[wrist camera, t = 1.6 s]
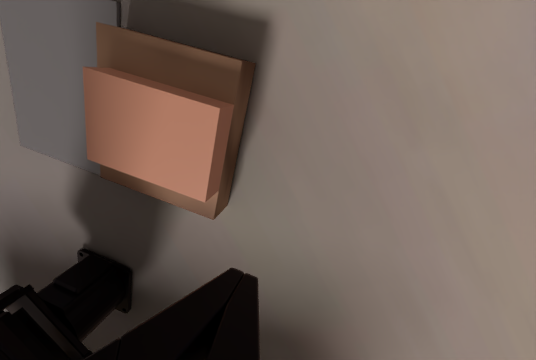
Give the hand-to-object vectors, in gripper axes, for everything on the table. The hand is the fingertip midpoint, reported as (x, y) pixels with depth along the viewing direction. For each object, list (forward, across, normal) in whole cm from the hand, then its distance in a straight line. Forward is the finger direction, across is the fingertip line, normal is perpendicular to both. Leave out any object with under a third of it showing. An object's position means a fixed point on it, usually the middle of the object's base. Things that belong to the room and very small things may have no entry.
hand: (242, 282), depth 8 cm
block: (+10, +9, 0) cm, 14 cm away
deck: (+12, +10, 0) cm, 16 cm away
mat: (+12, +21, 0) cm, 24 cm away
